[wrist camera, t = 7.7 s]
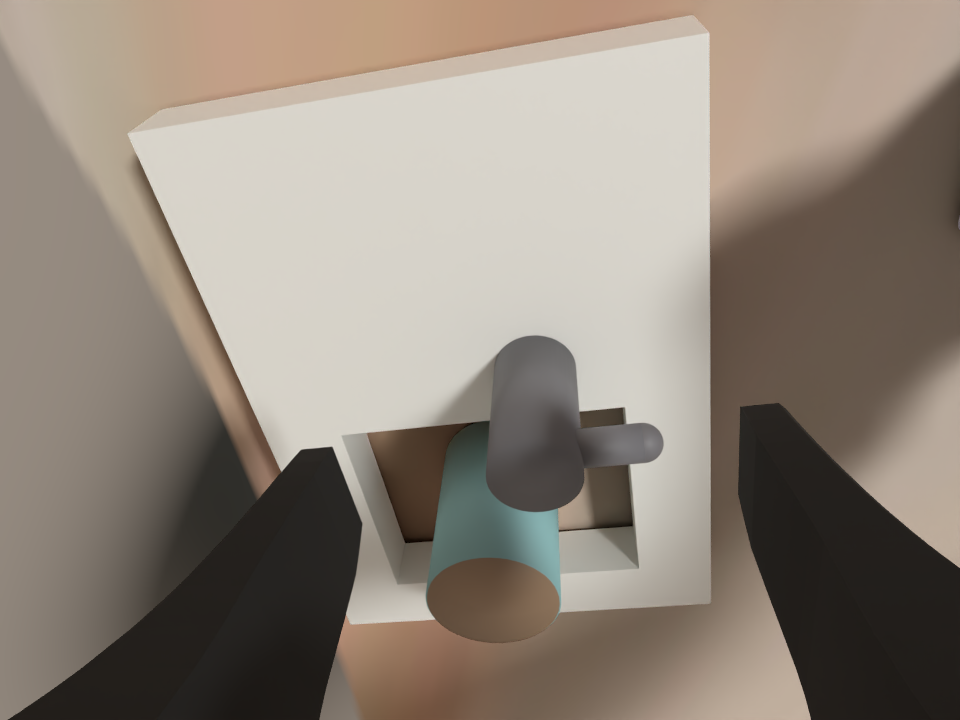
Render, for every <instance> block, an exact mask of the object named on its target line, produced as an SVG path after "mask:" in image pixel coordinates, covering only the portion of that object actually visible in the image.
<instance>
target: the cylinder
mask: <svg viewBox="0 0 960 720" xmlns="http://www.w3.org/2000/svg"><path fill="white" fill-rule="evenodd" d="M489 426H490V421H480V422H477V423H474V424H471V425H469V426H467V427H465V428H464V429H462V430H461V431H460V432H458V433H457V434H456V435H455V436H454V437H453V439H452V440H451V441H450V443H449V445H448V447H447V450H446V456H445V462H444V469H443V476H442V483H441V490H440V497H439V504H438V511H437V518H436V525H435V532H434V539H433V546H432V553H431V560H430V567H429V574H428V581H427V588H426V603H427V607H428V609H429V611H430V613H431V614H432V616H433V617H434V618H435V619H436V620H437V621H438V622H439V623H440V624H441V625H442V626H444V627H445V628H447V629H448V630H450V631H451V632H453V633H455V634H457V635H460V636H462V637H465V638H468V639H471V640H476V641H481V642H489V643H506V642H514V641H520V640H523V639H527V638H530V637H532V636H535V635H537V634H538V633H540V632H542V631H543V630H545V629H546V628H548V627H549V626H550V625H551V624H552V623H553V622H554V621H555V620H556V618H557V616H558V614H559V612H560V609H561V580H560V554H559V527H558V509H555V510H551V511H545V512H527V511H521V510H517V509H514V508H511V507H509V506H507V505H505V504H504V503H502V502H500V501H499V500H498V499H497V498H496V497H495V496H494V495H493V494H492V493H491V491H490V490H489V488H488V485H487V482H486V464H487V451H488V439H489Z"/></svg>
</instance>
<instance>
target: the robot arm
mask: <svg viewBox="0 0 960 720" xmlns="http://www.w3.org/2000/svg"><path fill="white" fill-rule="evenodd" d="M958 227H959V230H960V217H959V222H958ZM738 495H739V499H740V503H741V508H742V512H743V516H744V521H745V525H746V529H747V533H748V537H749V541H750V545H751V549H752V551H753V554H754V557H755V560H756V562H757V565H758V568H759V571H760V573H761V576H762V579H763V581H764V584H765V587H766V590H767V592H768V595H769V598H770V600H771V603H772V606H773V608H774V611H775V614H776V616H777V619H778V622H779V624H780V627H781V630H782V632H783V635H784V638H785V640H786V643H787V646H788V648H789V651H790V654H791V656H792V659H793V662H794V664H795V667H796V670H797V673H798V676H799V679H800V682H801V685H802V688H803V691H804V694H805V698H806V701H807V705H808V709H809V713H810V716H811V720H960V568H959V567H958V566H956V565H955V564H953V563H952V562H951V561H949V560H948V559H947V558H945V557H944V556H943V555H941V554H940V553H939V552H937V551H936V550H935V549H934V548H932V547H931V546H930V545H928V544H927V543H926V542H925V541H923V540H922V539H921V538H920V537H918V536H917V535H916V534H915V533H913V532H912V531H911V530H910V529H909V528H907V527H906V526H905V525H904V524H903V523H902V522H900V521H899V520H898V519H897V518H896V517H894V516H893V515H892V514H891V513H890V512H889V511H887V510H886V509H885V508H884V507H883V506H882V505H881V504H880V503H878V502H877V501H876V500H875V499H874V498H873V497H872V496H871V495H870V494H868V493H867V492H866V491H865V490H864V489H863V488H862V487H861V486H860V485H859V484H858V483H857V482H856V481H855V480H854V479H853V478H852V477H851V476H849V475H848V474H847V473H846V472H845V471H844V470H843V469H842V468H841V467H840V466H839V465H838V464H837V463H836V462H835V461H834V460H833V459H832V458H831V457H830V456H829V455H828V454H827V453H826V452H825V451H824V450H823V449H822V448H821V447H820V446H819V445H818V444H817V443H816V442H815V440H814V439H813V438H812V437H811V436H810V435H809V434H808V433H807V432H806V431H805V430H804V429H803V428H802V427H801V425H800V424H799V423H798V422H797V421H796V420H795V419H794V418H793V417H792V415H791V414H790V413H789V412H788V411H787V410H786V409H785V408H784V407H783V406H782V405H780V404H779V403H775V404H764V405H754V406H744V407H740V445H739V483H738ZM362 524H363V523H362V521H361V518H360V516H359V513H358V511H357V508H356V506H355V503H354V500H353V498H352V495H351V493H350V490H349V488H348V485H347V483H346V480H345V477H344V475H343V472H342V470H341V467H340V465H339V462H338V460H337V457H336V454H335V452H334V449H333V447H322V448H312V449H301V450H300V451H299V452H298V454H297V455H296V456H295V457H294V458H293V459H292V460H291V461H290V463H289V464H288V465H287V466H286V467H285V468H284V470H283V471H282V472H281V473H280V474H279V476H278V477H277V478H276V479H275V480H274V481H273V483H272V484H271V485H270V486H269V487H268V489H267V490H266V491H265V492H264V493H263V495H262V496H261V497H260V498H259V499H258V500H257V502H256V503H255V504H254V505H253V506H252V507H251V509H250V510H249V511H248V512H247V513H246V514H245V515H244V517H243V518H242V519H241V520H240V521H239V522H238V523H237V525H236V526H235V527H234V528H233V529H232V530H231V531H230V533H229V534H228V535H227V536H226V537H225V538H224V539H223V540H222V541H221V542H220V543H219V544H218V545H217V546H216V547H215V549H214V550H213V551H212V552H211V553H210V554H209V555H208V556H207V557H206V558H205V559H204V560H203V561H202V562H201V563H200V564H199V565H198V566H197V568H196V569H195V570H194V571H193V572H192V573H191V574H190V575H189V576H188V577H187V578H186V579H185V580H184V581H183V582H182V583H181V584H180V585H179V586H178V587H177V588H176V589H175V590H174V591H172V592H171V593H170V594H169V595H168V596H167V597H166V598H165V599H164V600H163V601H162V602H161V603H160V604H159V605H157V606H156V607H155V608H154V609H153V610H152V611H151V612H150V613H148V614H147V615H146V616H145V617H144V618H143V619H142V620H141V621H140V622H138V623H137V624H136V625H135V626H134V627H133V628H131V629H130V630H129V631H128V632H127V633H125V634H124V635H123V636H121V637H120V638H119V639H118V640H116V641H115V642H114V643H113V644H111V645H110V646H109V647H108V648H106V649H105V650H104V651H103V652H101V653H100V654H99V655H98V656H96V657H95V658H94V659H93V660H91V661H90V662H89V663H88V664H86V665H85V666H84V667H83V668H81V669H80V670H79V671H77V672H76V673H75V674H73V675H72V676H70V677H69V678H68V679H66V680H65V681H64V682H62V683H61V684H59V685H58V686H57V687H55V688H54V689H53V690H51V691H50V692H48V693H47V694H45V695H44V696H42V697H41V698H40V699H38V700H37V701H35V702H34V703H32V704H31V705H29V706H28V707H26V708H25V709H24V710H22V711H21V712H19V713H18V714H16V715H14V716H13V717H11V718H10V719H8V720H319V718H320V713H321V708H322V704H323V699H324V695H325V691H326V686H327V683H328V679H329V675H330V672H331V668H332V664H333V660H334V657H335V653H336V649H337V646H338V642H339V638H340V634H341V631H342V627H343V623H344V620H345V616H346V612H347V608H348V604H349V601H350V597H351V593H352V589H353V585H354V581H355V577H356V571H357V564H358V557H359V550H360V541H361V533H362Z"/></svg>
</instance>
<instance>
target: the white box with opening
mask: <svg viewBox="0 0 960 720" xmlns="http://www.w3.org/2000/svg"><path fill="white" fill-rule="evenodd" d="M128 136H129V138H130V141H131V143H132V145H133V147H134V149H135V152H136V154H137V156H138V158H139V160H140V163H141V165H142V167H143V169H144V171H145V174H146V176H147V178H148V180H149V182H150V184H151V187H152V189H153V191H154V193H155V195H156V198H157V200H158V202H159V204H160V206H161V209H162V211H163V213H164V215H165V217H166V220H167V222H168V224H169V226H170V228H171V231H172V233H173V235H174V237H175V239H176V242H177V244H178V246H179V248H180V250H181V253H182V255H183V257H184V259H185V261H186V264H187V266H188V268H189V270H190V272H191V275H192V277H193V279H194V281H195V283H196V286H197V288H198V290H199V292H200V294H201V297H202V299H203V301H204V303H205V305H206V308H207V310H208V312H209V314H210V316H211V319H212V321H213V323H214V325H215V327H216V330H217V332H218V334H219V336H220V338H221V340H222V343H223V345H224V347H225V349H226V351H227V354H228V356H229V358H230V360H231V362H232V365H233V367H234V369H235V371H236V373H237V376H238V378H239V380H240V382H241V384H242V387H243V389H244V391H245V393H246V395H247V398H248V400H249V402H250V404H251V406H252V409H253V411H254V413H255V415H256V417H257V420H258V422H259V424H260V426H261V428H262V431H263V433H264V435H265V437H266V439H267V442H268V444H269V446H270V448H271V450H272V453H273V455H274V457H275V459H276V461H277V464H278V466H279V468H280V470H281V472H282V471H283V470H284V468H285V467H286V466H287V465H288V464H289V463H290V461H291V460H292V459H293V458H294V457H295V456H296V455H297V454H298V452H299V451H300V450H301V449H312V448H322V447H333V449H334V452H335V454H336V457H337V460H338V462H339V465H340V467H341V470H342V472H343V475H344V477H345V480H346V483H347V485H348V488H349V490H350V493H351V495H352V498H353V500H354V503H355V506H356V508H357V511H358V513H359V516H360V518H361V521H362V523H363V524H362V533H361V541H360V550H359V557H358V564H357V571H356V577H355V581H354V585H353V589H352V593H351V597H350V601H349V604H348V608H347V612H346V615H347V617H348V620H349V622H350V624H368V623H385V622H403V621H420V620H436V619H435V618H434V617H433V616H432V614H431V613H430V611H429V609H428V607H427V603H426V588H427V581H428V574H429V567H430V560H431V553H432V546H433V541H430V542H417V543H405V542H404V539H403V536H402V533H401V530H400V527H399V524H398V522H397V519H396V516H395V513H394V510H393V507H392V504H391V502H390V499H389V496H388V493H387V490H386V487H385V485H384V482H383V479H382V476H381V473H380V470H379V467H378V465H377V462H376V459H375V456H374V453H373V450H372V448H371V445H370V442H369V439H368V436H367V433H369V432H379V431H389V430H400V429H410V428H420V427H430V426H440V425H450V424H460V423H470V422H480V421H490V426H489V439H488V451H487V464H486V482H487V485H488V488H489V490H490V491H491V493H492V494H493V495H494V496H495V497H496V498H497V499H498V500H499V501H500V502H502V503H504V504H505V505H507V506H509V507H511V508H514V509H517V510H521V511H527V512H545V511H551V510H555V509H558V508H560V507H562V506H564V505H566V504H568V503H569V502H571V501H572V500H573V499H574V498H575V497H576V496H577V495H578V494H579V492H580V491H581V489H582V487H583V484H584V468H595V467H607V466H618V465H628V474H629V485H630V496H631V507H632V518H633V526H631V527H617V528H604V529H591V530H577V531H564V532H559V554H560V580H561V609H560V612H575V611H593V610H610V609H627V608H644V607H662V606H679V605H696V604H711V424H710V115H709V32H708V31H707V30H706V28H705V27H704V26H703V25H702V24H701V23H700V22H699V21H698V20H697V19H696V17H695V16H694V15H690V16H685V17H679V18H673V19H668V20H662V21H656V22H651V23H645V24H640V25H634V26H628V27H623V28H617V29H611V30H606V31H600V32H595V33H589V34H583V35H578V36H572V37H566V38H561V39H555V40H550V41H544V42H538V43H533V44H527V45H521V46H516V47H510V48H505V49H499V50H493V51H488V52H482V53H477V54H471V55H465V56H460V57H454V58H448V59H443V60H437V61H432V62H426V63H420V64H415V65H409V66H403V67H398V68H392V69H387V70H381V71H375V72H370V73H364V74H358V75H353V76H347V77H342V78H336V79H330V80H325V81H319V82H313V83H308V84H302V85H297V86H291V87H285V88H280V89H274V90H268V91H263V92H257V93H252V94H246V95H240V96H235V97H229V98H223V99H218V100H212V101H207V102H201V103H195V104H190V105H184V106H178V107H173V108H167V109H162V110H160V111H158V112H157V113H156V114H154V115H153V116H151V117H150V118H149V119H147V120H146V121H144V122H143V123H142V124H140V125H139V126H137V127H136V128H135V129H133V130H132V131H130V132H129V133H128ZM621 407H623V418H624V424H622V425H612V426H601V427H591V428H581V425H580V412H581V411H591V410H601V409H611V408H621Z"/></svg>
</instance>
